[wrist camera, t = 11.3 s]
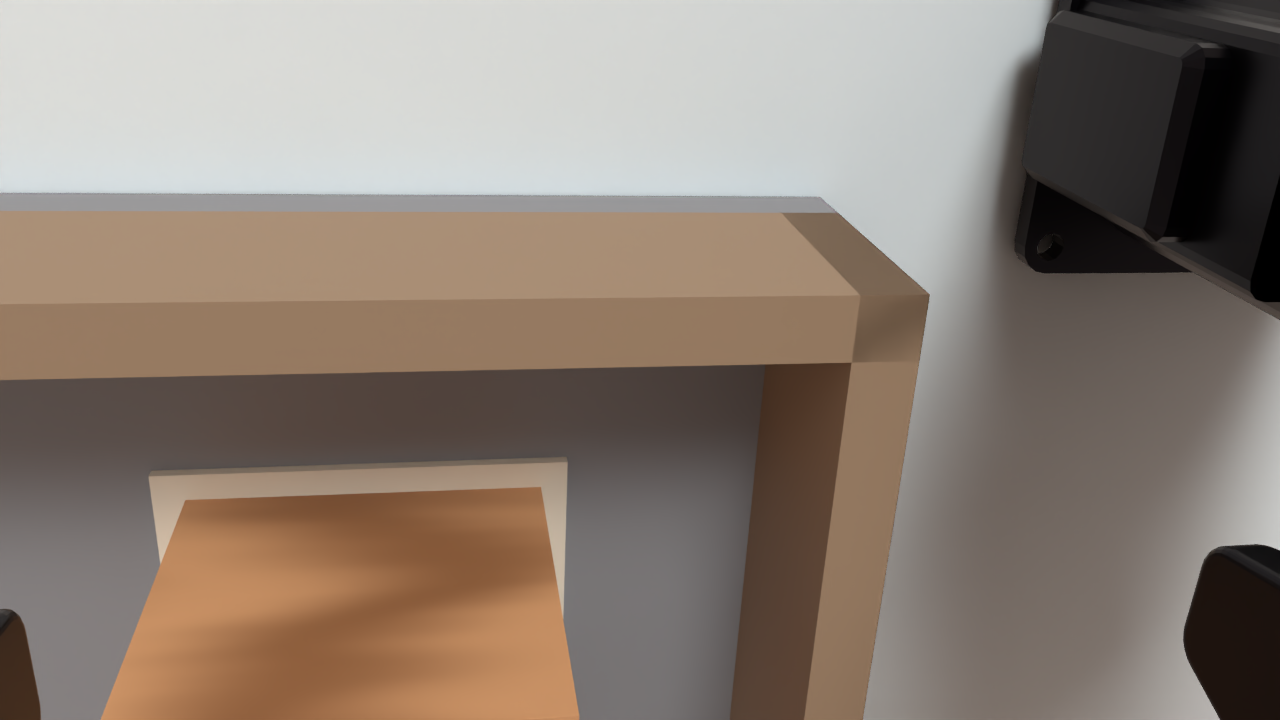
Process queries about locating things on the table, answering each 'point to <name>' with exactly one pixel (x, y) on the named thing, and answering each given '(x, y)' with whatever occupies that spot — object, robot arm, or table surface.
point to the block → (353, 612)
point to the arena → (473, 414)
